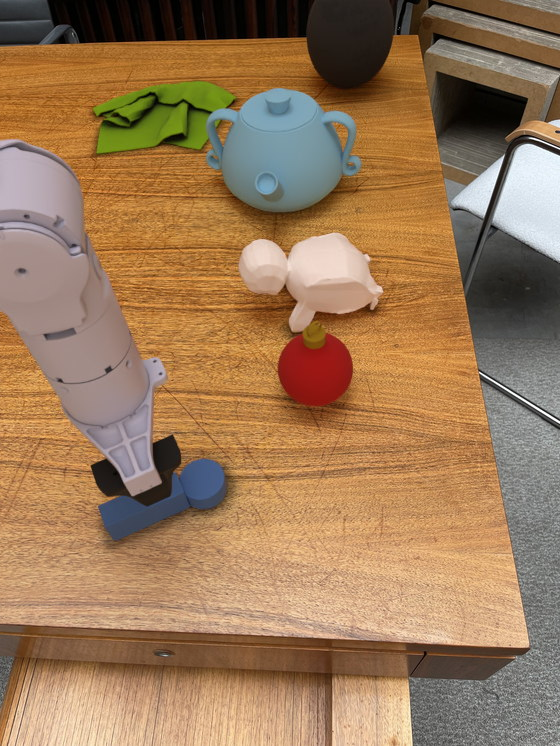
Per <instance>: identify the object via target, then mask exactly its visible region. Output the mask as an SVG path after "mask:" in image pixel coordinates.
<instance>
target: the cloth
mask: <svg viewBox="0 0 560 746" xmlns="http://www.w3.org/2000/svg"><path fill="white" fill-rule="evenodd" d="M236 100H237V96H235V95H234V94H232V93H231V92H229V91H228V90H226V89H225V88H224V87H221V86H218V85H216V84H214V83H211V82H207V81H203V80H195V81H194V80H193V81H181V82H179V83H170V84H169V83H162V84H157V85H152V86H147V87H144V88H143V89H140V90H136V91H131V92H129V93H127V94H124V95H121V96H116V97H113V98H111V99H109V100H108V101H105V102H103V103H101V104H99V105H97V106H94V107H92V110H93V112H94V114H95V115H96V117H99V116H100V115H101V116H102V117H104V118H103V119H102V121H101V122H100V126H99V133H98V139H97V146H96V155H101V154H109V153H117V152H125V151H126V152H127V151H133V150H141V149H149V148H154V147H157V146H158V145H159V144H160V143H161V142H162V143H163V144H167V145H174V146H178V147H181V148H186V149H192V150H197V151H201V150H202V149H203V147H204V146H205V144H206V143H207V142H208V141H209V138H208V135H207V131H206V122H207V119H208V117H209V116H210V115H211V114H212V113H213V112H214V111H216V110H218V109H223V108H227V107H229V106H230V105H231V104H232V103H233V102H235V101H236ZM221 122H222V120H217V121H215V128H216V129H217V128H218V126H219V124H220V123H221Z"/></svg>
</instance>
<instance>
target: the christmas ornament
mask: <svg viewBox="0 0 560 746" xmlns="http://www.w3.org/2000/svg"><path fill="white" fill-rule="evenodd" d="M322 325H323V324H322V322H320V321H319V320H314V321H311V322H310V324H309V326H307V327H306V328H305V329H304V330H303V331H302V333H300V334H298V335H296V336H295V337H293V338H292V339H290V340H289V341H288V343H287V344H286V345H285V346H284V348H283V349H282V350H281V352H280V355H279V356H278V357H279V358H278V361H277V375H278V380H279V383H280V385H281V387H282V389H283V390H284V392H285V393H286V394H287V396H289V397H290V398H291V399H292V400H294V401H295V402H297V403H299V404H301V405H304V406H307V407H324V406H327V405H331V404H332V403H334V402H336V401H337V400H339V399H340V398H341V397H342V396H343V395H344V394H345V393H346V391H347V390H348V389H349V387H350V385H351V383H352V379H353V374H354V362H353V358H352V355H351V353H350V351H349V348H348V347H347V346H346V345H345V343H344V342H343V341H342V340H340V339H339V338H338V337H337V336H335V335H333V334H330V333H328V332H326V329H325V328H324V327H323V326H322Z"/></svg>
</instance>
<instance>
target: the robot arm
mask: <svg viewBox="0 0 560 746" xmlns="http://www.w3.org/2000/svg"><path fill="white" fill-rule="evenodd" d="M85 223H86V222H85V199H84V195H83V191H82V186H81V182H80V180H79V178H78V176H77V174H76V173H75V171H74V170H73V168H72V167H71V165H69V164H68V163H67V162H66V161H65V160H64V159H63V158H61V157H60V156H59V155H57V154H55V153H53V152H51V151H50V150H47V149H46V148H44V147H40V146H37V145H32V144H30V143H29V142H26V141H24V140H23V139H19V138H18V139H17V138H13V139H12V138H9V139H1V140H0V312H1V313H3V314H4V315H6V316H7V318H8V320H9V321H10V323H11V325H12V326H13V328H14V329H15V331H16V332H17V334H18V335H19V337H20V339H21V340H22V342H23V344H24V345H25V347H26V348H27V350H28V352H29V353H30V354H31V357H32V358H33V359H34V361H35V362H36V364H37V366H38V367H39V369H40V371H41V372H42V374H43V375H44V377H45V379H46V380H47V382H48V384H49V386H50V387H51V388H52V390H53V392H54V393H55V395H56V396H57V397H58V399H59V401H60V406H61V409H62V412H63V413H64V415H65V416H66V418H67V420H68V421H69V422H70V423H71V424H72V425H73V426H74V427H75V428H76V429H77V430H78V432H80V434H82V435H83V436H84V438H86V440H88V441H89V443H90V444H91V445H93V447H94V448H95V449H96V450H98V451H99V453H100V454H101V455H102V456H103V457H104V459H102V460H99V461H97V462H94V463H92V464H90V469H91V472H92V475H93V479H94V482H95V484H96V486H97V488H98V489H99V492H101V493H102V494H103V495H104V496H105V497H107V498H113V497H119V496H128V497H130V498H132V499H134V500H136V501H137V502H139V503H141V504H143V505H145V506H147V507H148V506H150V505H152V504H155V503H157V502H159V501H161V500H163V499H166V498H168V497H170V496H171V493H172V475H173V473H174V472H176V470H177V469H178V468H179V467H180V466H181V465H182V452H181V449H180V447H179V444H178V442H177V440H176V437H175V435H174V434H170V435H168V436H165V437H163V438H160V439H159V440H156V441H154V419H155V418H154V417H155V391H156V389H157V388H159V387H161V386H163V385H165V384H166V383H167V382H168V380H169V375H168V373H167V370H166V368H165V365H164V364H163V362H162V360H161V359H160V358H159V357H156V356H154V357H150V358H146V359H143V358H142V356H141V354H140V351H139V349H138V346H137V344H136V341H135V339H134V337H133V334H132V332H131V329H130V327H129V325H128V322H127V320H126V317H125V315H124V312H123V309H122V307H121V305H120V303H119V300H118V298H117V296H116V293H115V290H114V288H113V286H112V282H111V280H110V278H109V276H108V274H107V272H106V270H105V269H104V268H103V266H102V264H101V260H100V258H99V257H98V255H97V253H96V250H95V248H94V245H93V243H92V241H91V238H90V236H89V234H88V233H87V232H86V226H85V225H86V224H85Z"/></svg>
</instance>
